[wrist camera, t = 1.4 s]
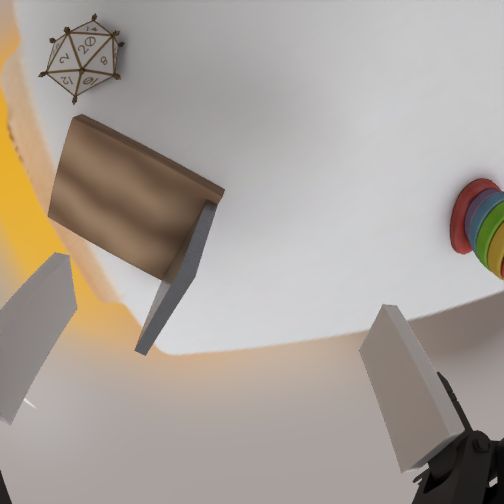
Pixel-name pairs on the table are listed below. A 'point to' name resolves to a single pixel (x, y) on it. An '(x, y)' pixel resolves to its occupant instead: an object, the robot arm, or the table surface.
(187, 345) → the table surface
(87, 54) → the game die
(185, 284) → the bookend
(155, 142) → the table surface
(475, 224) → the stacking bear
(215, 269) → the table surface
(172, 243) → the shelf plank
